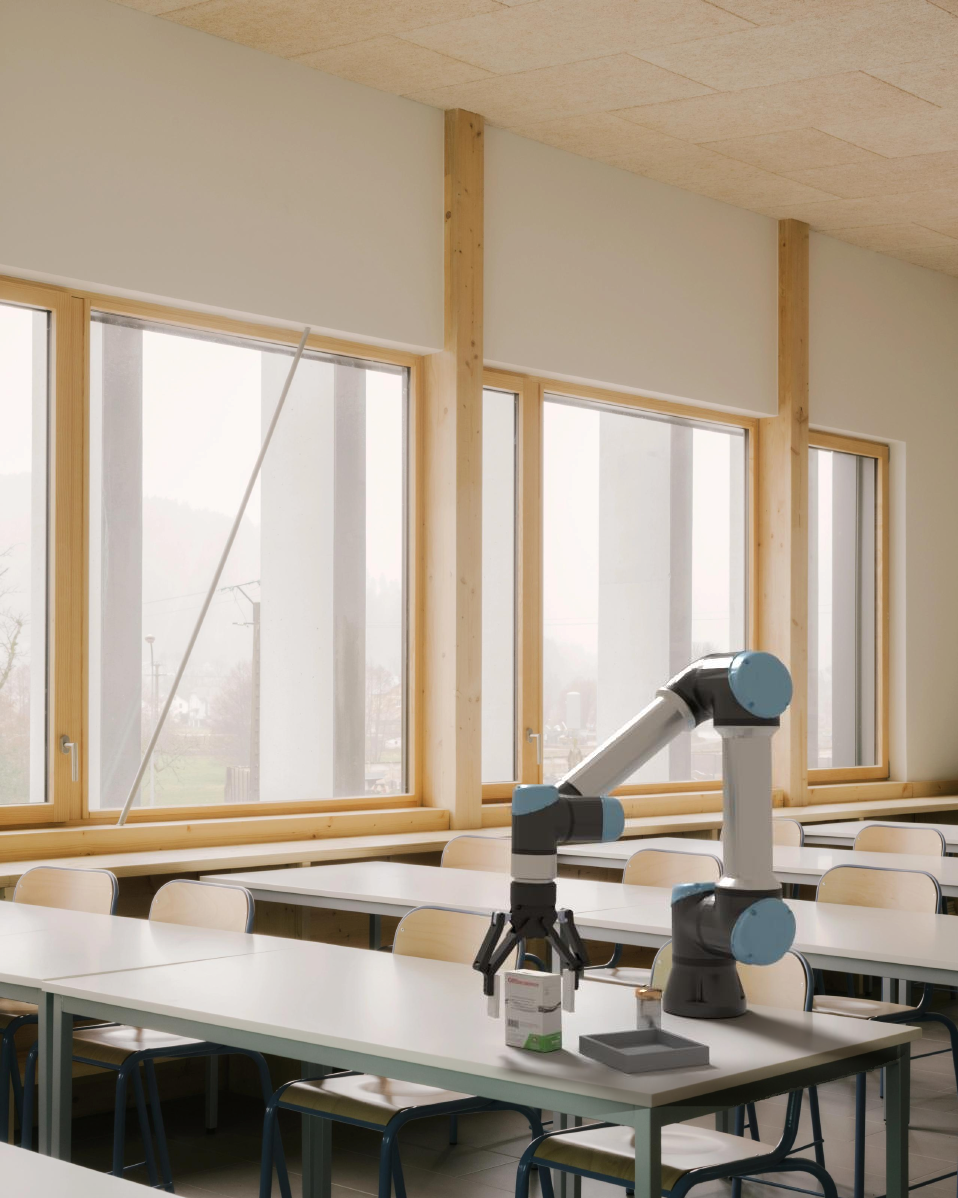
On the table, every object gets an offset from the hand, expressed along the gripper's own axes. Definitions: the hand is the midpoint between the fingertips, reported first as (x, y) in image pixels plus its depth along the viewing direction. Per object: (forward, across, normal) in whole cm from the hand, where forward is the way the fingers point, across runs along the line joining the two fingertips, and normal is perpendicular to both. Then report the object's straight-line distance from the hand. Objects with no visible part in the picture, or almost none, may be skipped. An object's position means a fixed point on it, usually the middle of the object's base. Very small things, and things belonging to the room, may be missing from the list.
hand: (531, 1014), depth 227 cm
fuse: (+5, -20, +3) cm, 21 cm away
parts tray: (+5, -12, +14) cm, 19 cm away
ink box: (+5, 0, 0) cm, 5 cm away
